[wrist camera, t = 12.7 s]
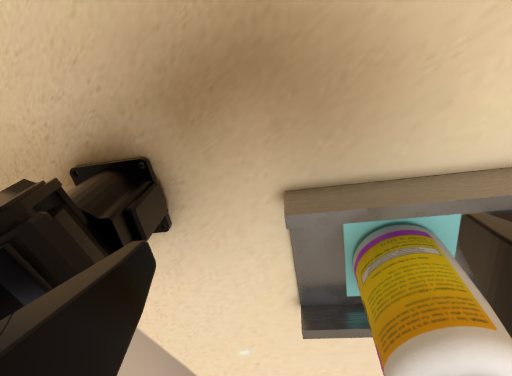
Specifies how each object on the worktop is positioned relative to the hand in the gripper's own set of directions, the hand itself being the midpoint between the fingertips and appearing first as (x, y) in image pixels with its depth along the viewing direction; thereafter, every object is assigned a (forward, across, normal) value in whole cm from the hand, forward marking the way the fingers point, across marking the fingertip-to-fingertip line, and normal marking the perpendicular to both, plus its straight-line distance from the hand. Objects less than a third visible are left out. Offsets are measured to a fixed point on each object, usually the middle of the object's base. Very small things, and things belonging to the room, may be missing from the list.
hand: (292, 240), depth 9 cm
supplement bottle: (+12, -7, +11) cm, 18 cm away
